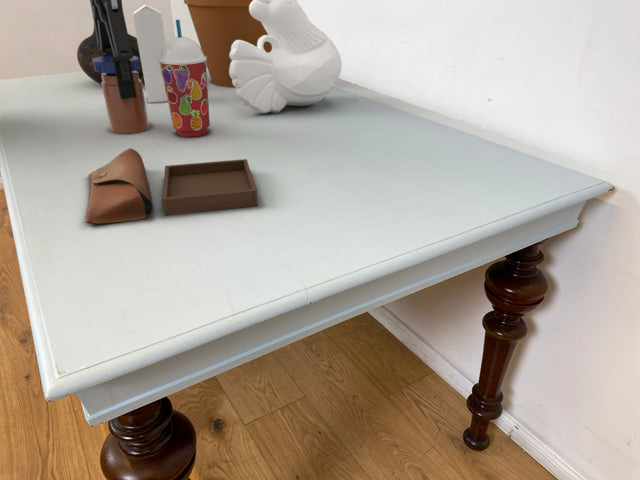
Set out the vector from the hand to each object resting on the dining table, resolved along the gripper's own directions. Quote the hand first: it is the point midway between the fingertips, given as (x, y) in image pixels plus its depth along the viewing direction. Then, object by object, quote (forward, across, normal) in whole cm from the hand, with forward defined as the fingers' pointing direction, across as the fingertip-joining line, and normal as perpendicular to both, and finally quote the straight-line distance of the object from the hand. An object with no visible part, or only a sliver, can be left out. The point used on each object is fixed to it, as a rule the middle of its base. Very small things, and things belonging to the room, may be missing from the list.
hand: (122, 93), depth 92 cm
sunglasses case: (+7, -32, +10) cm, 34 cm away
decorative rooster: (+7, -3, -34) cm, 35 cm away
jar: (+7, 0, 0) cm, 7 cm away
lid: (-6, 0, 0) cm, 6 cm away
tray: (+7, -38, -1) cm, 38 cm away
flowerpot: (+7, +28, -39) cm, 49 cm away
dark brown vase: (+7, +44, -9) cm, 46 cm away
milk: (+7, +20, -13) cm, 25 cm away
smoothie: (+7, -10, -9) cm, 15 cm away
